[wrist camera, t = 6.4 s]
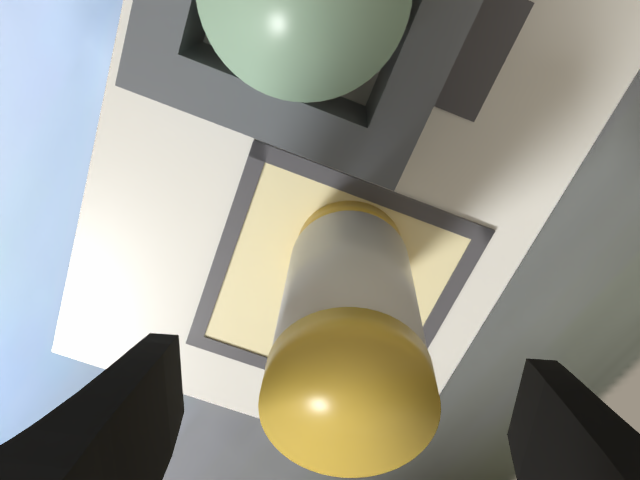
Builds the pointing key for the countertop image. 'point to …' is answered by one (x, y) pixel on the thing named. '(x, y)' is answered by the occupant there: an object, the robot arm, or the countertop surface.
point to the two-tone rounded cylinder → (349, 350)
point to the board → (336, 199)
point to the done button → (304, 43)
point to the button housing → (298, 117)
